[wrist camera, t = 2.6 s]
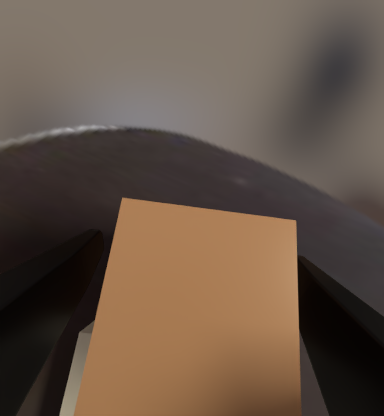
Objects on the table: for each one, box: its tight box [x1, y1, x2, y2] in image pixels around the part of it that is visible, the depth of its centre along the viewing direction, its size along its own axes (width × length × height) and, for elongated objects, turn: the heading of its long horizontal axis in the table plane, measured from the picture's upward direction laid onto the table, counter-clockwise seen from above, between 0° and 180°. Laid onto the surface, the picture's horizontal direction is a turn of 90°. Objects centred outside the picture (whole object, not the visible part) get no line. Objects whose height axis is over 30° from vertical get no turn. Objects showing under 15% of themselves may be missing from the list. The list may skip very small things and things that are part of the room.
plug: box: [74, 198, 301, 416], centre depth 9 cm, size 5×5×10 cm
